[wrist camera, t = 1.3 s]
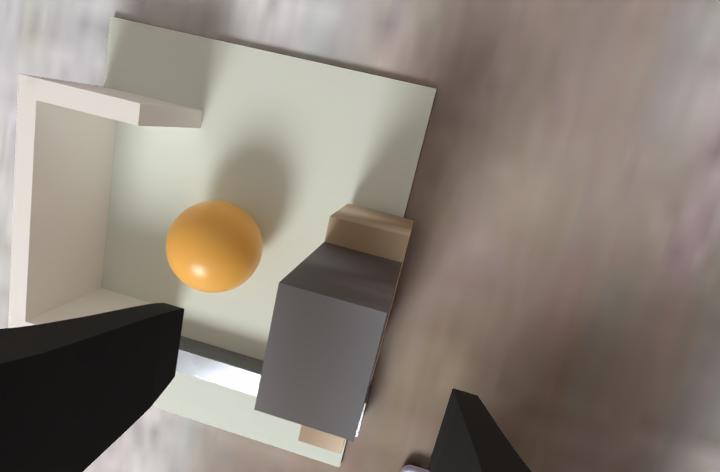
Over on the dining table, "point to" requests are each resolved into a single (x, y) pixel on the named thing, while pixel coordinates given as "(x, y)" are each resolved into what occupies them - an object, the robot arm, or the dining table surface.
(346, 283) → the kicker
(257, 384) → the rail
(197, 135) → the mat
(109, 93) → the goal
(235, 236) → the ball
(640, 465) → the dining table surface
